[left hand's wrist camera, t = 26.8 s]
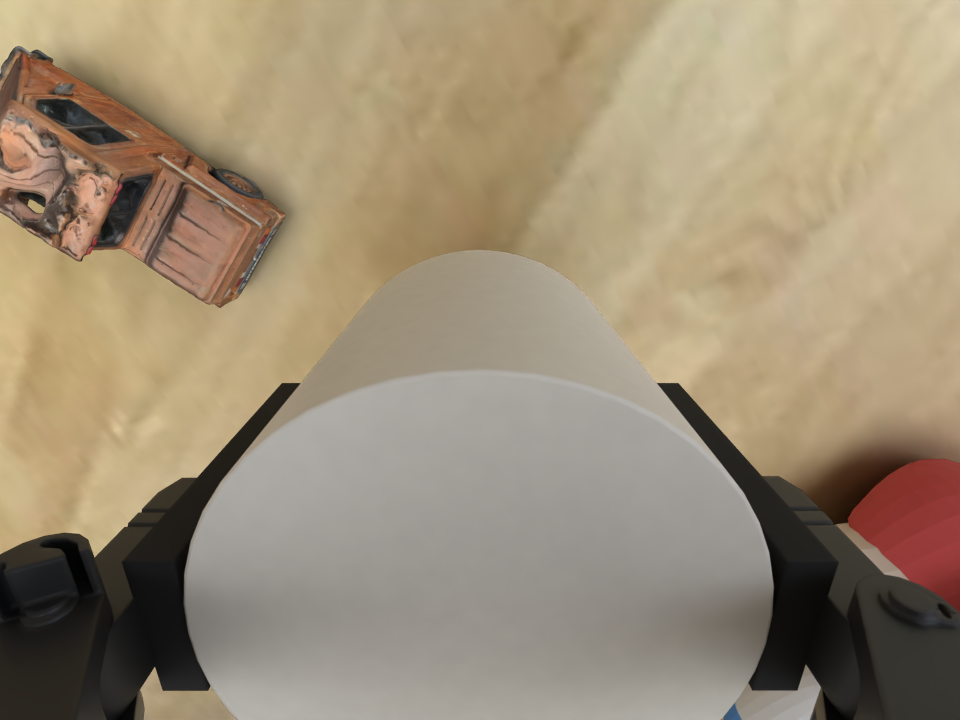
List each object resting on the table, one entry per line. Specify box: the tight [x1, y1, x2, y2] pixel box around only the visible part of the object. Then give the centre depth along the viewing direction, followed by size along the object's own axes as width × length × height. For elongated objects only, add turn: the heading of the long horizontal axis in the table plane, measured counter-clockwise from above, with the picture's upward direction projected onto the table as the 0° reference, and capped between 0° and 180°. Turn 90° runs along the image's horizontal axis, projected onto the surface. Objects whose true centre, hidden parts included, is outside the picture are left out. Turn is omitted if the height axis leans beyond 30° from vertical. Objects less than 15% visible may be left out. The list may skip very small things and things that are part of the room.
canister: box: [184, 250, 774, 720], centre depth 12 cm, size 9×9×9 cm
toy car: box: [0, 46, 285, 308], centre depth 21 cm, size 6×12×7 cm, turn 61°
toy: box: [724, 459, 960, 720], centre depth 31 cm, size 18×10×30 cm
